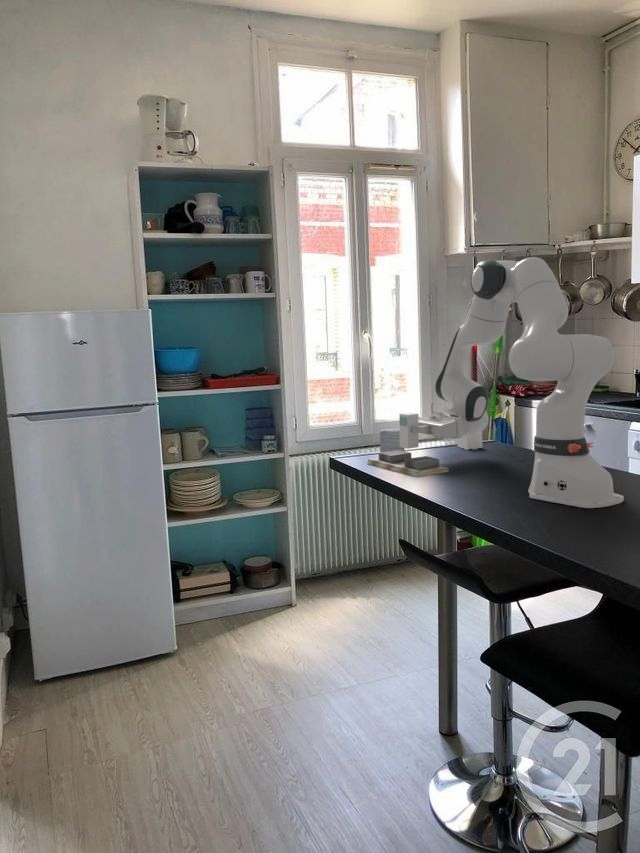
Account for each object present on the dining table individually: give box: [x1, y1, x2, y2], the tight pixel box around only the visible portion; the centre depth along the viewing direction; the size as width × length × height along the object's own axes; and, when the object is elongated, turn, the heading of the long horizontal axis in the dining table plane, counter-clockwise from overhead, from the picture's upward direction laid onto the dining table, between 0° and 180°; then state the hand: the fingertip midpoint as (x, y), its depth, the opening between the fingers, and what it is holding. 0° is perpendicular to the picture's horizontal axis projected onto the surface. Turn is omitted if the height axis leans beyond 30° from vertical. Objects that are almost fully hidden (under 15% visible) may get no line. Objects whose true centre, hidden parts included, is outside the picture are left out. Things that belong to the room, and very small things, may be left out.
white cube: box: [457, 430, 483, 451], centre depth 239 cm, size 6×6×6 cm
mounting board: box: [367, 450, 450, 478], centre depth 208 cm, size 24×12×4 cm, turn 31°
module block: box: [399, 412, 420, 449], centre depth 208 cm, size 4×4×10 cm
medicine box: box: [379, 428, 405, 453], centre depth 227 cm, size 8×4×9 cm, turn 84°
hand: (406, 428), depth 207 cm, fingers closed on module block, 4 cm apart
